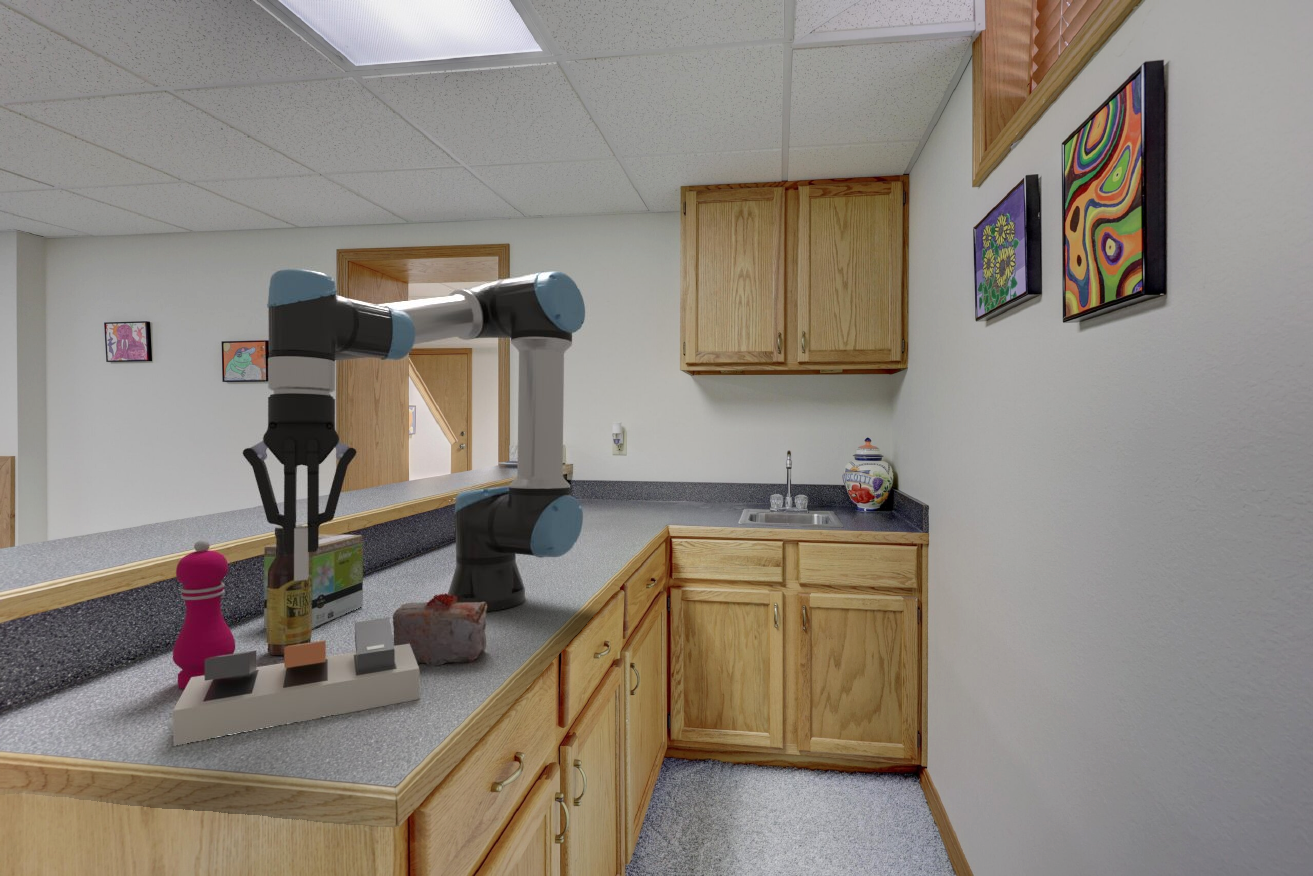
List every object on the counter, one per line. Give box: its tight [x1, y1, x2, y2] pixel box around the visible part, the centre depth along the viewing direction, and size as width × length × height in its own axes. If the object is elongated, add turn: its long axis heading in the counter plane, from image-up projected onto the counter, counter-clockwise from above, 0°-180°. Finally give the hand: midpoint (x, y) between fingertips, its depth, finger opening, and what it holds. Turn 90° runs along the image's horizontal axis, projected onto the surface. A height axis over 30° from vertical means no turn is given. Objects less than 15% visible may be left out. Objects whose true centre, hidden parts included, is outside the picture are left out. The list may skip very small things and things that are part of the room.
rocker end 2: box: [354, 617, 395, 671], centre depth 86 cm, size 4×8×2 cm, turn 27°
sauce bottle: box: [266, 524, 313, 656], centre depth 103 cm, size 7×6×20 cm
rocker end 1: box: [205, 650, 257, 681], centre depth 79 cm, size 4×8×2 cm, turn 27°
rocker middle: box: [283, 640, 327, 668], centre depth 83 cm, size 4×8×2 cm, turn 27°
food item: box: [392, 593, 487, 667], centre depth 99 cm, size 14×8×10 cm, turn 93°
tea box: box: [263, 533, 364, 630], centre depth 121 cm, size 15×10×15 cm, turn 171°
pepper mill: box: [172, 539, 236, 691], centre depth 91 cm, size 7×7×20 cm
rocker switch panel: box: [172, 644, 421, 747], centre depth 83 cm, size 26×11×4 cm, turn 117°
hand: (301, 578), depth 83 cm, fingers closed
